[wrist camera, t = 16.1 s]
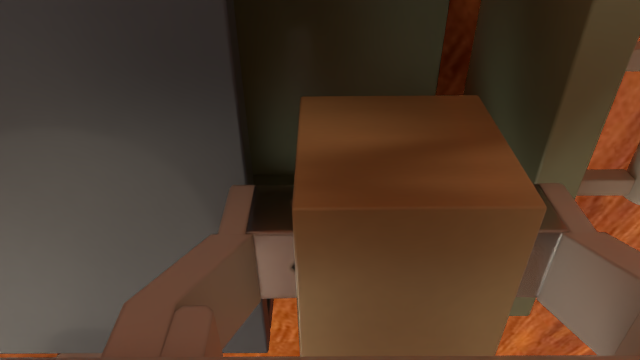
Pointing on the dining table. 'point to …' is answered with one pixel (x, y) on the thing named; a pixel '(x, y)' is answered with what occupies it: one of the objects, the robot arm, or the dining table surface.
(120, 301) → the cabinet
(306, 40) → the drawer
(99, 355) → the chalice
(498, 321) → the block
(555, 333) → the dining table surface
